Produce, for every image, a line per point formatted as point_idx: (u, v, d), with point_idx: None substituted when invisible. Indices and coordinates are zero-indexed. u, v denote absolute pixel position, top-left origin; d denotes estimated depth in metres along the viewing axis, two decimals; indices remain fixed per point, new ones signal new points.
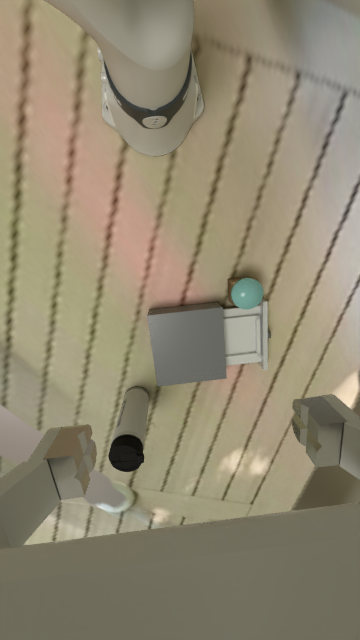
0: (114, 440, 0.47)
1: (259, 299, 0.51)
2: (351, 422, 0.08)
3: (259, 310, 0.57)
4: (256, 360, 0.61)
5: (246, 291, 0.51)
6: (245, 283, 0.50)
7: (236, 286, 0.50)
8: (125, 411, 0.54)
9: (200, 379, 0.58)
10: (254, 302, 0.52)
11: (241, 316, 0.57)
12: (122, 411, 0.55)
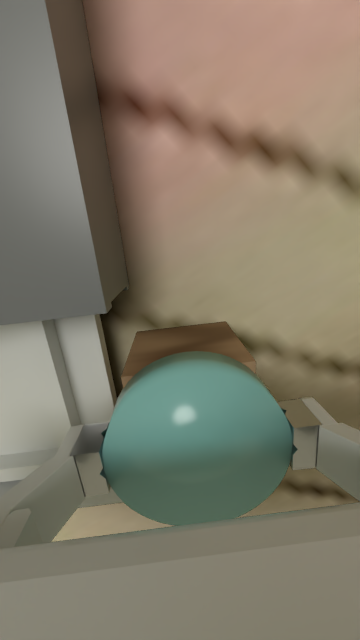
0: None
1: (167, 514, 0.09)
2: (326, 425, 0.08)
3: None
4: None
5: (214, 448, 0.08)
6: (265, 439, 0.08)
7: (251, 392, 0.08)
8: None
9: None
10: (149, 494, 0.09)
11: (69, 398, 0.12)
12: None
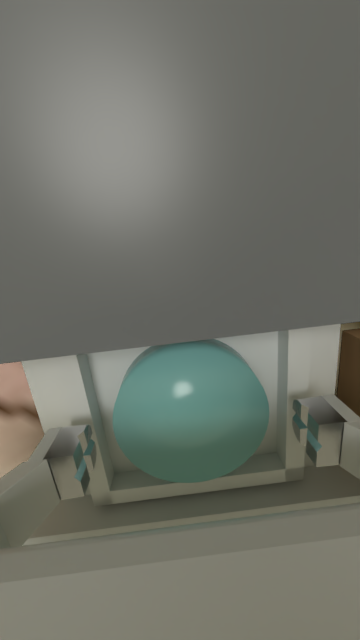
0: None
1: (166, 471, 0.11)
2: (351, 422, 0.08)
3: (307, 463, 0.13)
4: None
5: (204, 413, 0.10)
6: (246, 406, 0.10)
7: (234, 366, 0.10)
8: None
9: None
10: (150, 453, 0.11)
11: None
12: None
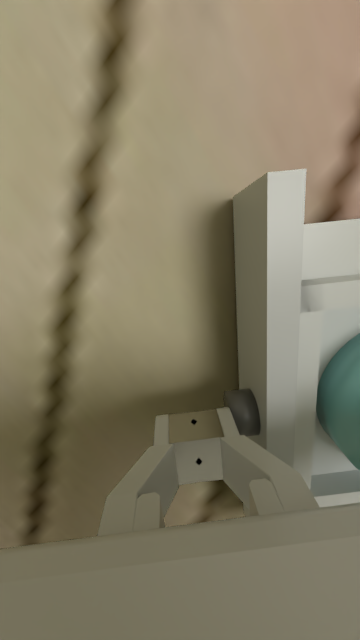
0: None
1: None
2: (227, 437, 0.08)
3: None
4: (305, 236, 0.09)
5: None
6: None
7: None
8: None
9: None
10: None
11: None
12: None
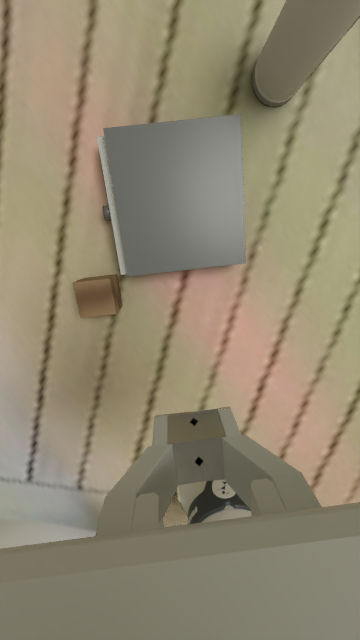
0: None
1: None
2: (228, 437, 0.08)
3: None
4: None
5: None
6: None
7: None
8: (324, 53, 0.24)
9: (156, 127, 0.29)
10: None
11: None
12: (330, 51, 0.25)
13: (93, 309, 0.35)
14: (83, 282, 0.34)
